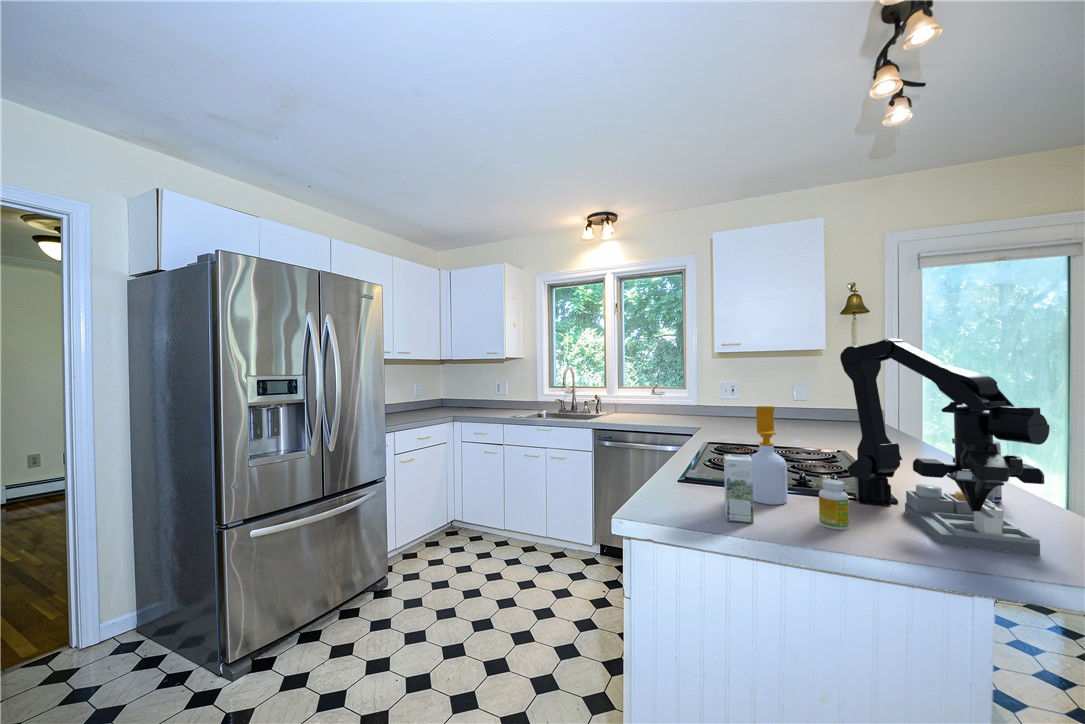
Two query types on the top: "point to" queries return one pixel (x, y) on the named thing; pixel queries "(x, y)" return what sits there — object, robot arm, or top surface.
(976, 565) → the top surface
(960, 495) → the button
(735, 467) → the syrup box
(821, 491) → the supplement bottle
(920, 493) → the button
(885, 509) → the top surface
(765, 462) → the soap bottle
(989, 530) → the slider
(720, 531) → the top surface
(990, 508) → the slider
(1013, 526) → the panel
